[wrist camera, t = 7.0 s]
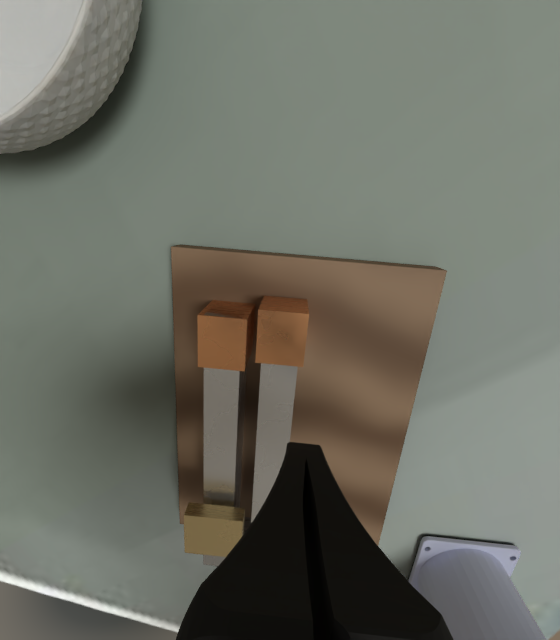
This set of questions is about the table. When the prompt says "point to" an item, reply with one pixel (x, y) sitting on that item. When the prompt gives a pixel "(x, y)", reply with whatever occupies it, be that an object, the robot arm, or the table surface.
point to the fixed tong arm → (224, 399)
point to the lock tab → (212, 528)
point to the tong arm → (276, 386)
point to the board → (314, 362)
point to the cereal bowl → (59, 65)
